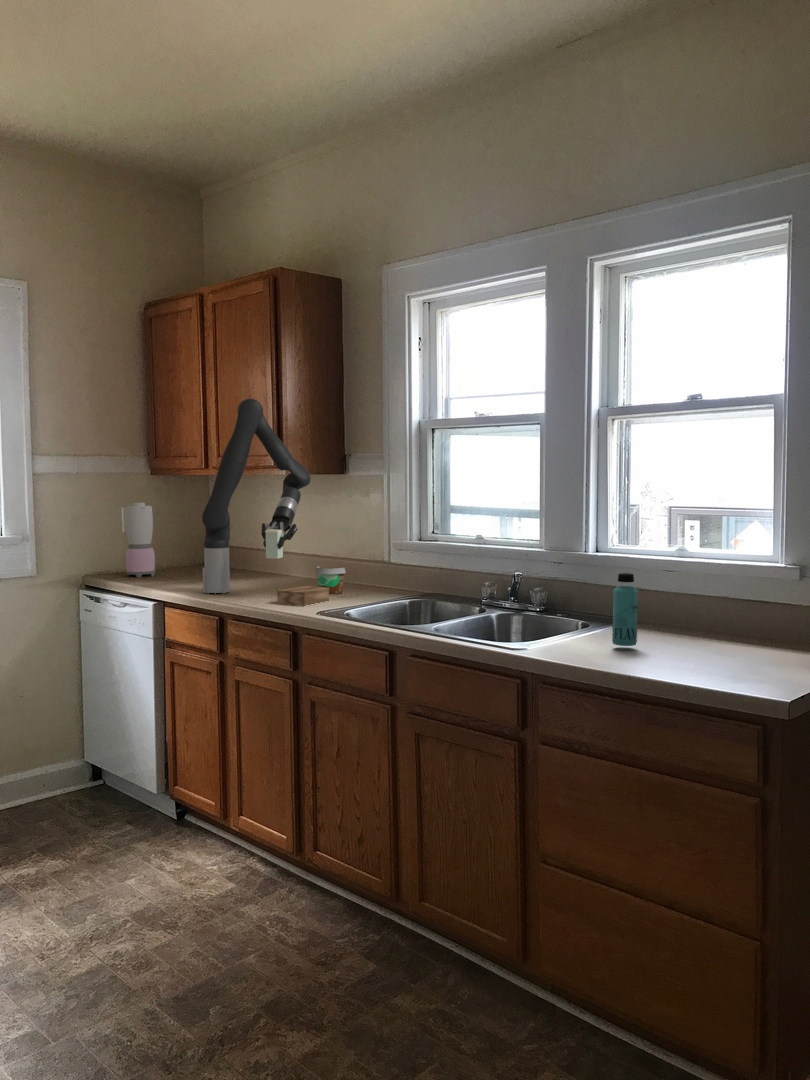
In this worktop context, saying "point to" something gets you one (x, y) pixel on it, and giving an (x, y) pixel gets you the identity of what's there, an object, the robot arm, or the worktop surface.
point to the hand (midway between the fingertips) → (272, 546)
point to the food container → (331, 579)
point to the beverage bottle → (625, 612)
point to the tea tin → (273, 544)
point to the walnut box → (303, 595)
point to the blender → (139, 540)
